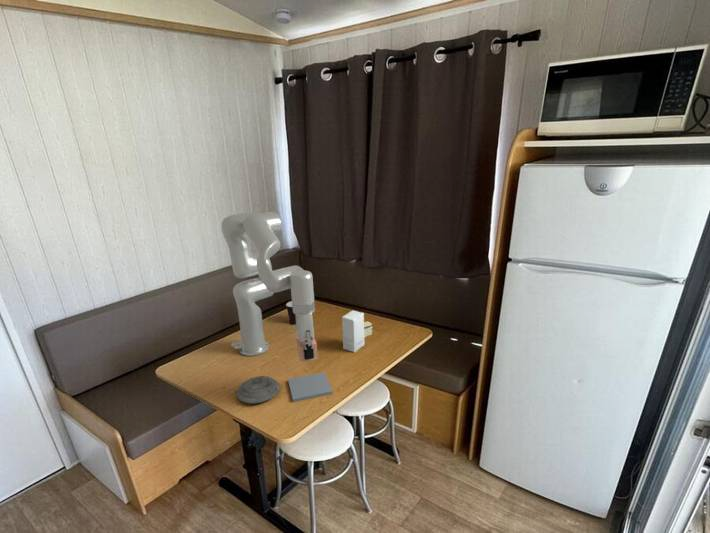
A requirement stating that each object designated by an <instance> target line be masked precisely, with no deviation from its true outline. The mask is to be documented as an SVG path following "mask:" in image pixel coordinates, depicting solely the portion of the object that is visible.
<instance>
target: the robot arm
mask: <svg viewBox="0 0 710 533" xmlns="http://www.w3.org/2000/svg"><path fill="white" fill-rule="evenodd" d="M282 229H283V221H282V219H281V217H280V215H279V214H278V213H276V212H275V211H253V212H246V213H236V214H231V215H228V216H225V218H223V219H222V221H221V232H222V235H223V238H224V239H225V242H226V243H227V247H228V250H229V257H230V261H231V268H232V272H233V275H234V276H235V278H237V279H246V278H250V277H254V276H258V277H254V278H251V279H247V280H243V281H240V282H238V283H236V284H235V285H234V286H233V289H232V293H233V294H232V295H233V297H234V300H235V304H236V308H237V315H238V320H239V328H240V334H241V335H240V336H241V339H240V341H239V340H238V342H231V348H234V349H235V350H238V349H239V353H240V354H241V355H243V356H248V357H252V356H254V357H255V356H258V355H261V354H264V353H265V352H266V351H268V349H269V348H270V344H269V343H268V342H267V341H266V340H265V332H264V322H263V314H262V310H261V308H260V307H259V306H258V305H257V304H256V302H259V301H260V300H264V299H268V298H270V297H272V296H274V293H280V292H283V291H287V290H289V289H290V292H291V301H292V307H293V313H294V314H296V325H295V331H296V335H297V336H296V337H297V339H299V341H300V342H301V343H302V342H304V348H305V349H304V358H305V360H307V359H313V358H314V352H313V345H312V341H313V340H314V339H315V329H314V320H313V319H314V318H313V313H314V312H315V311H316V304H315V292H314V281H313V280H314V278H313V277H314V276H313V274H312V272H311V271H309V270H304V269H303V268H302V267H301V266H299V265H291V266H287V267H282V268H279V269H274V270H273V266H272V262H271V259H270V258H272V256H274V255H275V254H276V253H277V252H279V250H280V248H281V241H280V239H279V238H278V237H277V235H276V234H278V233H280V232H281V231H282ZM246 235H247V236H248V238H249V239H250V241H251V242H252V244H253V245H254V247H255V249H256V250H257V252H252V249H251V244H250V243H251V242H250V241H249V240H248V239H247V238H246V237H245V236H246ZM306 338H307V340H305V339H306ZM306 342H307V344H306Z"/></svg>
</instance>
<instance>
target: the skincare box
mask: <svg viewBox="0 0 710 533" xmlns="http://www.w3.org/2000/svg"><path fill="white" fill-rule="evenodd" d="M341 322H342V323H341V324H342V346H343V347H342V348H343V350H345V351H349V352H352V353H356V352H357V351H359V350H360V349H361V348H362V347H364V346H365V345H366V344H365V340H366V339H365V337H364V322H365V313H364V312H360V311H356V310H351V311H349V312H348V313H346V314H344V315H343V316H341Z"/></svg>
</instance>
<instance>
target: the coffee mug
mask: <svg viewBox="0 0 710 533" xmlns="http://www.w3.org/2000/svg"><path fill="white" fill-rule="evenodd" d="M285 307H286V310H287V316H288V319H289V324H291V325H294V326H296V314H294V313H293V307H292V300H291V301H288V302H287V303H286V304H285Z"/></svg>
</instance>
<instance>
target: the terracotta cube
mask: <svg viewBox="0 0 710 533" xmlns="http://www.w3.org/2000/svg"><path fill="white" fill-rule="evenodd" d="M305 340H307V338H306V339H305ZM296 344H297V355H298V359H299V361H300V363H305V362H309V361H310V362H311V361H316V360H318V358H319V357H318V356H319V355H318V343H317V341H316V339H315V338H314V340H313V341H312V345H313V352H314V358H313V359H307V360H305V358H304V349H305V348H304V342H302V343H301V342H300V341H299V338H296ZM306 344H307V342H306Z"/></svg>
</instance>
